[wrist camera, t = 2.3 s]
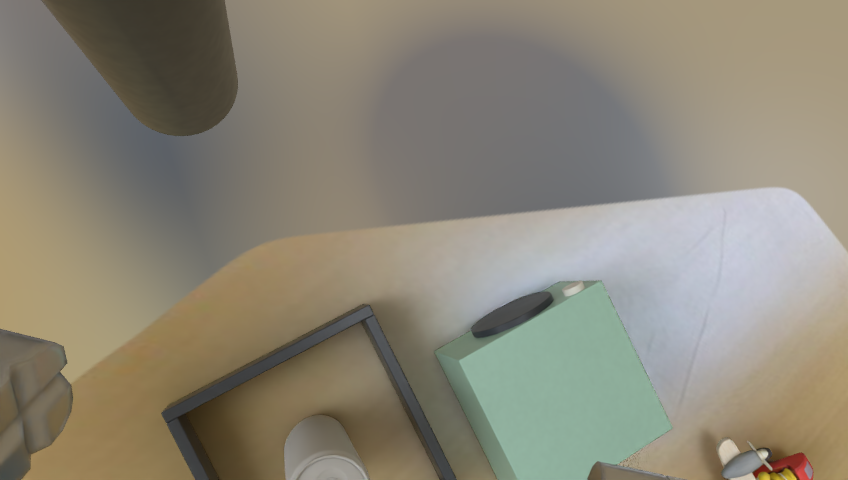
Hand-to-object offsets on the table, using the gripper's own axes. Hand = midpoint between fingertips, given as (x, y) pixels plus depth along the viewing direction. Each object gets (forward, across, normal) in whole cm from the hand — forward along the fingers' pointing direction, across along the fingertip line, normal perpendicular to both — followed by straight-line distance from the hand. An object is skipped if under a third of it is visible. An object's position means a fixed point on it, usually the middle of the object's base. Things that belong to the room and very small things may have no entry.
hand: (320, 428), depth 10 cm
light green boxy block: (+34, -9, +27) cm, 44 cm away
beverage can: (+26, +6, +31) cm, 41 cm away
